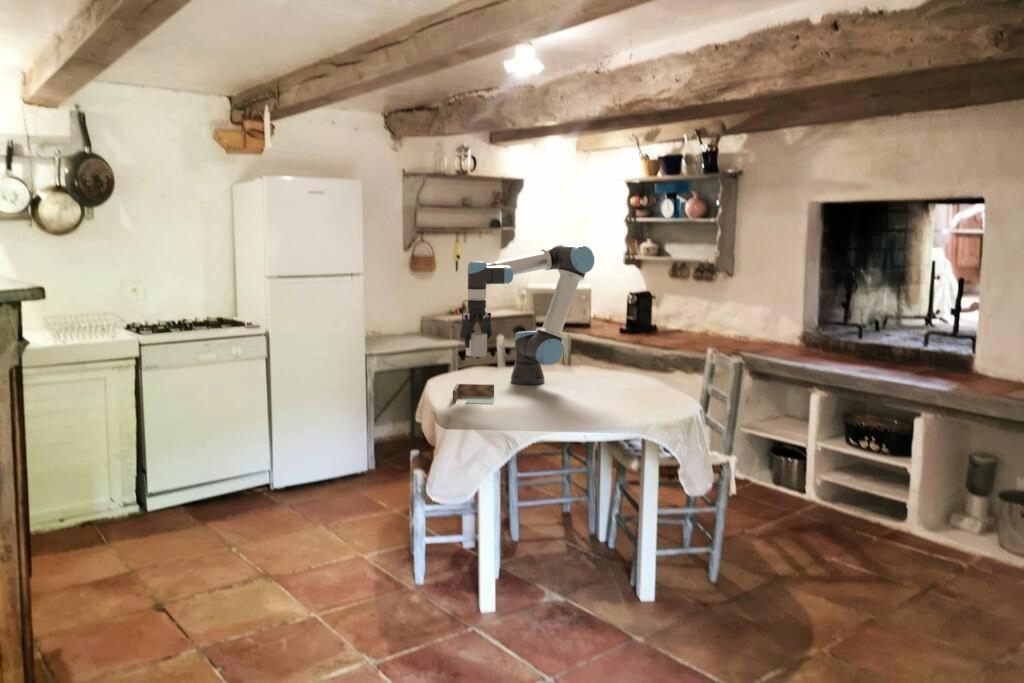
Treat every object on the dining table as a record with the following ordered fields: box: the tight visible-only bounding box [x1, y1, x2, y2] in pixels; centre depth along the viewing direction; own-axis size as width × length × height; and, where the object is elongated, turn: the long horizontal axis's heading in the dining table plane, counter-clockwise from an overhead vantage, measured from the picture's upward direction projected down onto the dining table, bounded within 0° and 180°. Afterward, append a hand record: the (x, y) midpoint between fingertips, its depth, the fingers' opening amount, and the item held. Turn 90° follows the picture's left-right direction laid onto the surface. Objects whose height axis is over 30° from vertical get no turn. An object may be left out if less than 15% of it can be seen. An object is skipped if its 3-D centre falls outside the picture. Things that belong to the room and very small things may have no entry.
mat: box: [465, 396, 496, 405], centre depth 321 cm, size 11×12×1 cm
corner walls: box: [452, 383, 495, 404], centre depth 322 cm, size 16×14×5 cm
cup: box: [463, 332, 488, 358], centre depth 327 cm, size 7×10×9 cm
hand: (476, 354), depth 328 cm, fingers closed on cup, 7 cm apart
